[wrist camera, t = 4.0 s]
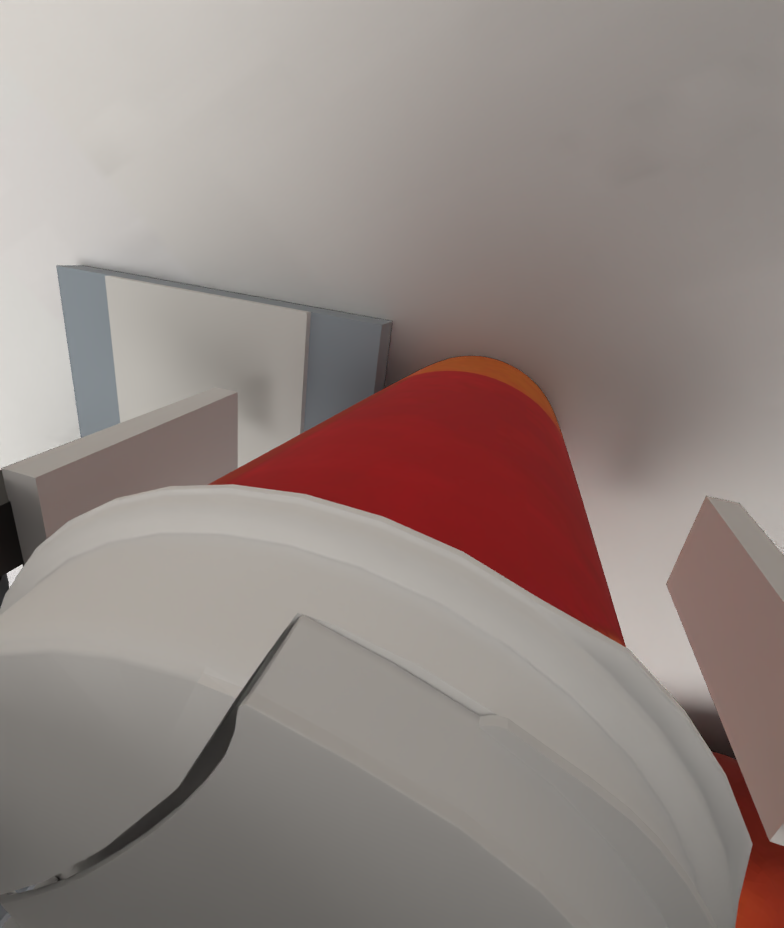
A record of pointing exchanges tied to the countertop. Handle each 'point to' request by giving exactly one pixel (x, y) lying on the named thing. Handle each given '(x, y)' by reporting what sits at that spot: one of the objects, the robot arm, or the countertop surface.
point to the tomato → (756, 861)
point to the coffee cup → (353, 696)
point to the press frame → (213, 357)
